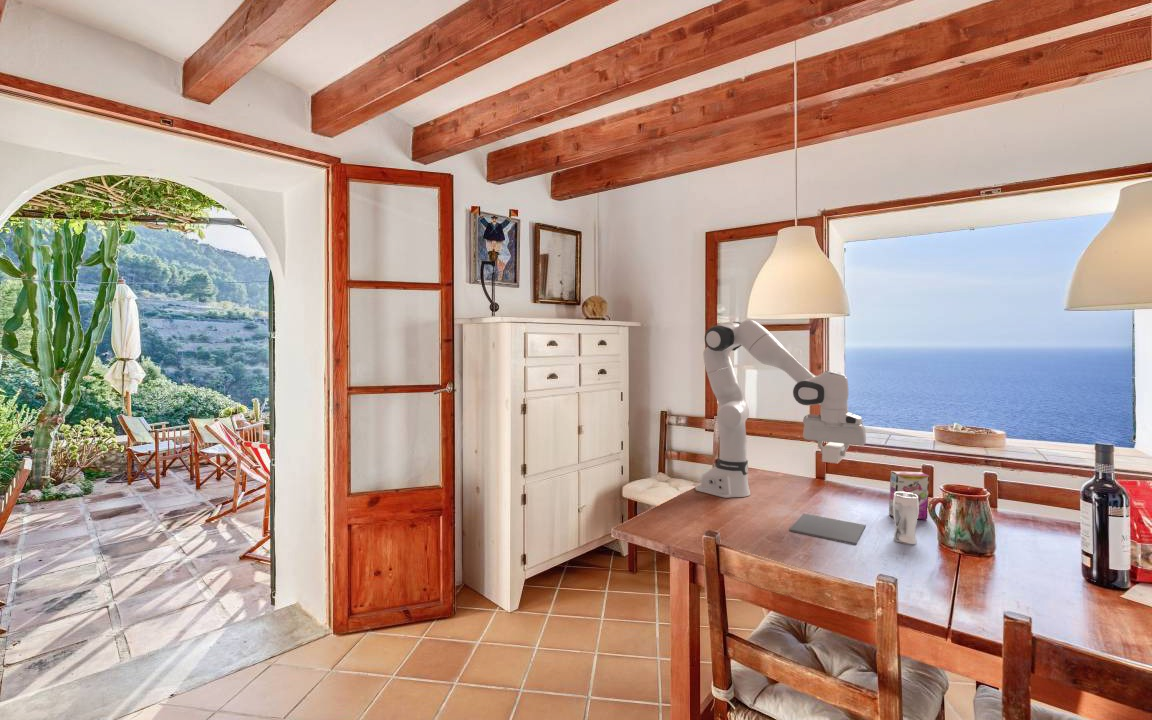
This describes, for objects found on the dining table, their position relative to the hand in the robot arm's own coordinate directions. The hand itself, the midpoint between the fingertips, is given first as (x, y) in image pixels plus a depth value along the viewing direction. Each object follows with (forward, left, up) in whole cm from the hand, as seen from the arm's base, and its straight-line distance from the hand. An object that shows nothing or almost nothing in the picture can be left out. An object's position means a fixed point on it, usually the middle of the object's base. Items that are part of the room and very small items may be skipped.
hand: (833, 454), depth 186 cm
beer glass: (+23, -10, -23) cm, 34 cm away
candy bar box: (+22, +17, -23) cm, 36 cm away
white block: (0, +8, +1) cm, 8 cm away
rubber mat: (+1, -13, -23) cm, 27 cm away
